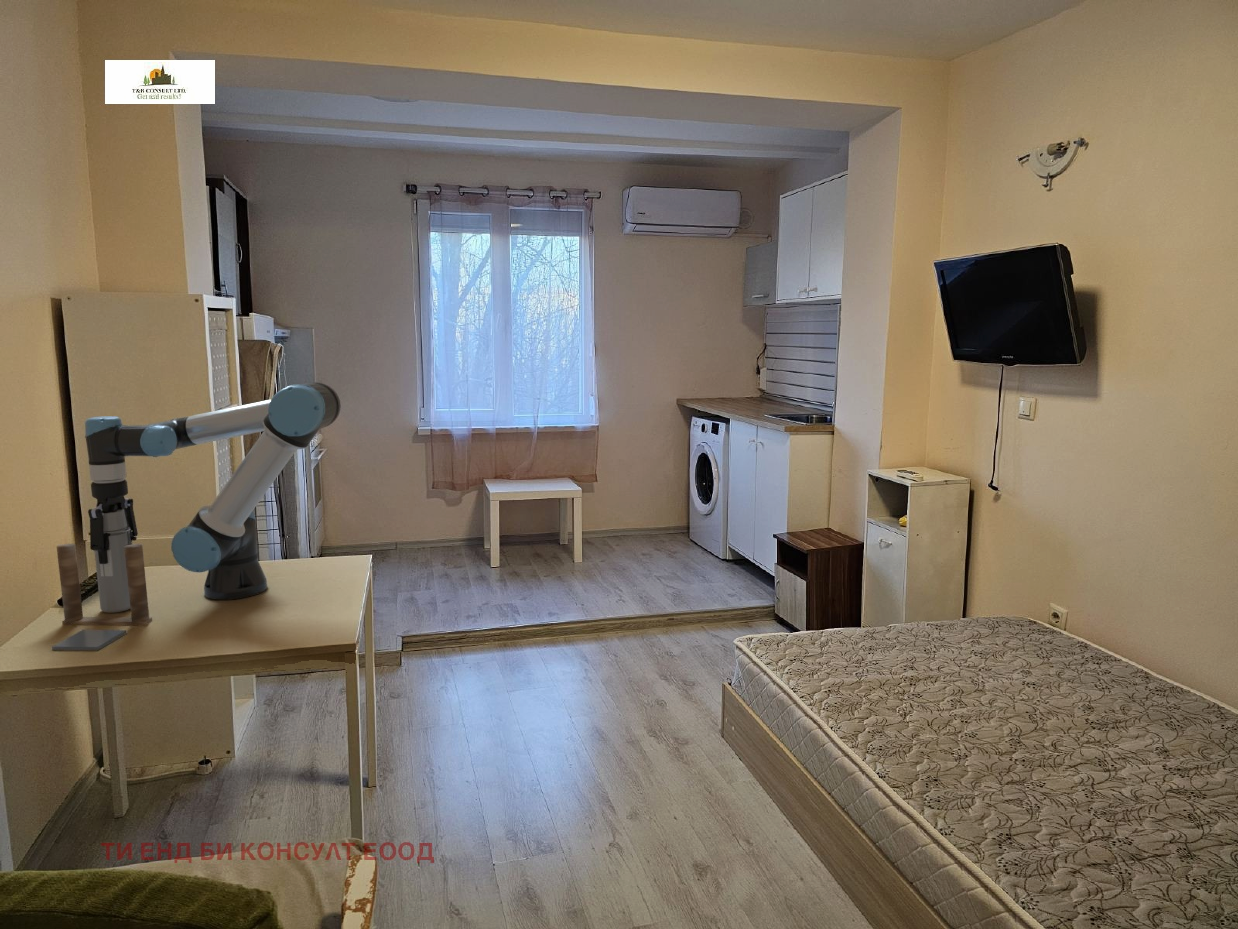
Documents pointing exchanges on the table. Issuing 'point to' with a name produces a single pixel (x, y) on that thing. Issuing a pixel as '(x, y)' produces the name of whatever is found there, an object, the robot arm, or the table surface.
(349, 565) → the table surface
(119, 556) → the water bottle
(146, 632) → the table surface
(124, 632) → the pad
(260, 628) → the table surface
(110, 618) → the gate
